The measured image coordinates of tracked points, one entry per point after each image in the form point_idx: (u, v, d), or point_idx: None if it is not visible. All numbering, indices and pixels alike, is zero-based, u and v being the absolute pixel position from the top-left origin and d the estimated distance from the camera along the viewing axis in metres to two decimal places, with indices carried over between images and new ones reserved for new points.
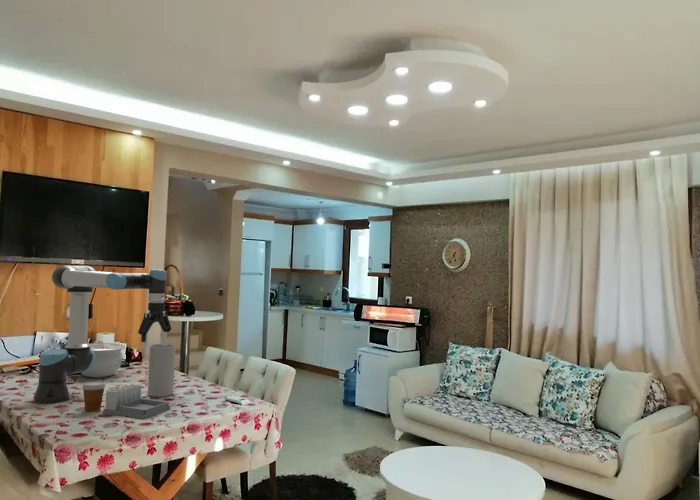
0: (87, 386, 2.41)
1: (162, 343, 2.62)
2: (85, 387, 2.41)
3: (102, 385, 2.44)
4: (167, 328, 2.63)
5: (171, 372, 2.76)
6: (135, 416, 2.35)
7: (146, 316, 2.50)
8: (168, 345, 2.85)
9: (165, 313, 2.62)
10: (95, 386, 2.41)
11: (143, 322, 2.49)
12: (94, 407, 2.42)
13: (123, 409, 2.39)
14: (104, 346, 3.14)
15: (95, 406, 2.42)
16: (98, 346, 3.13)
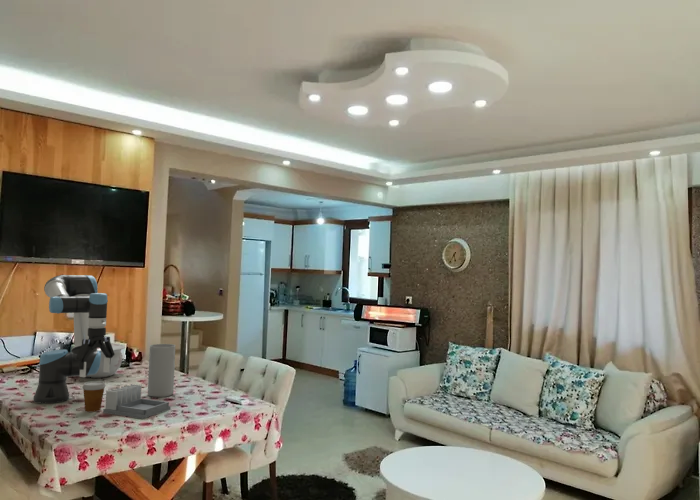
0: (87, 386, 2.41)
1: (104, 370, 2.51)
2: (85, 387, 2.41)
3: (102, 385, 2.44)
4: (109, 354, 2.52)
5: (171, 372, 2.76)
6: (135, 416, 2.35)
7: (84, 342, 2.39)
8: (168, 345, 2.85)
9: (107, 338, 2.51)
10: (95, 386, 2.41)
11: (81, 349, 2.38)
12: (94, 407, 2.42)
13: (123, 409, 2.39)
14: None
15: (95, 406, 2.42)
16: None
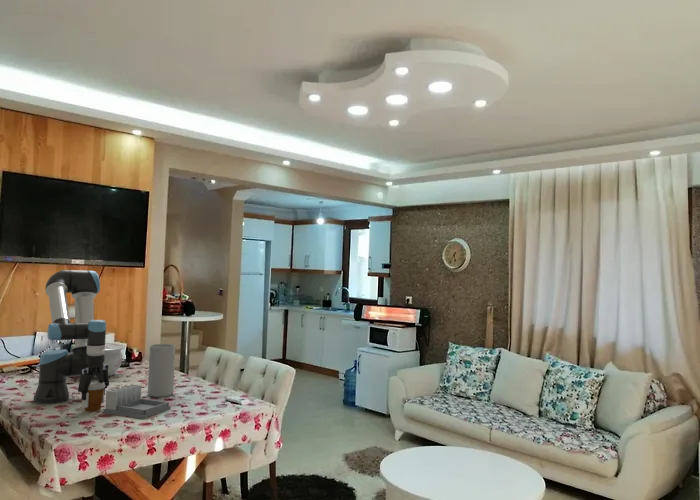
0: None
1: None
2: None
3: (102, 385, 2.44)
4: (105, 384, 2.49)
5: (171, 372, 2.76)
6: (135, 416, 2.35)
7: (83, 373, 2.39)
8: (168, 345, 2.85)
9: (105, 366, 2.50)
10: (95, 386, 2.41)
11: (81, 379, 2.39)
12: (94, 407, 2.42)
13: (123, 409, 2.39)
14: None
15: (95, 406, 2.42)
16: None
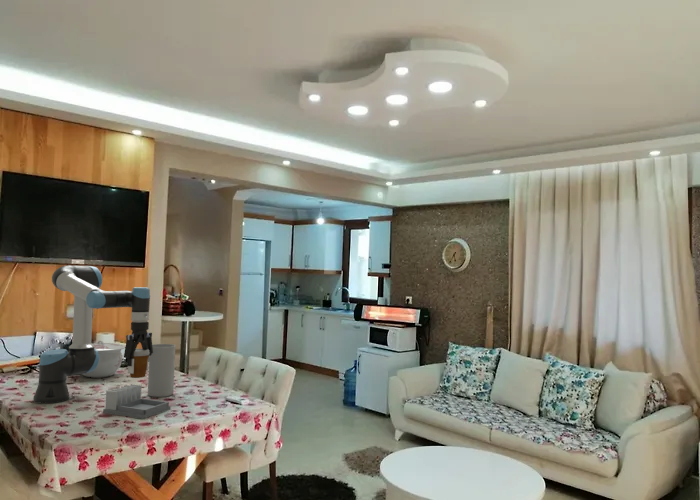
0: None
1: None
2: None
3: (147, 351, 2.44)
4: (149, 351, 2.50)
5: (171, 372, 2.76)
6: (135, 416, 2.35)
7: (129, 339, 2.39)
8: (168, 345, 2.85)
9: (149, 334, 2.51)
10: (140, 352, 2.42)
11: (127, 345, 2.39)
12: (139, 373, 2.42)
13: (123, 409, 2.39)
14: (104, 346, 3.14)
15: (140, 372, 2.42)
16: (98, 346, 3.13)
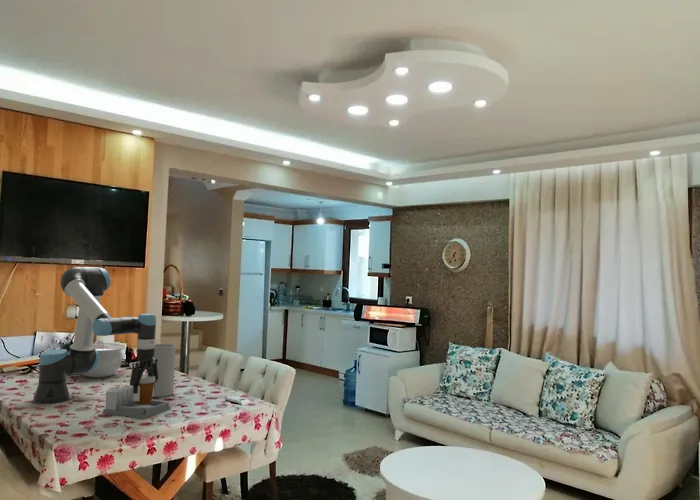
0: None
1: None
2: None
3: (153, 378, 2.44)
4: None
5: (171, 372, 2.76)
6: (135, 416, 2.35)
7: (135, 366, 2.39)
8: (168, 345, 2.85)
9: (155, 360, 2.50)
10: (146, 379, 2.42)
11: (133, 373, 2.39)
12: (145, 401, 2.42)
13: (123, 409, 2.39)
14: (104, 346, 3.14)
15: (146, 399, 2.42)
16: (98, 346, 3.13)
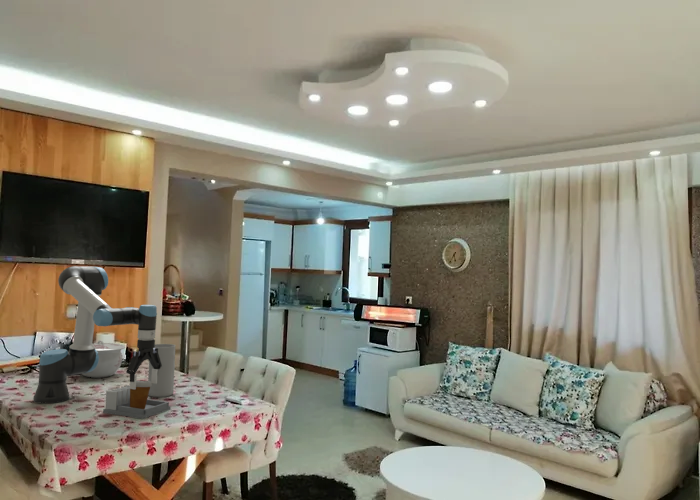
0: None
1: (152, 381, 2.51)
2: None
3: (149, 383, 2.43)
4: (157, 365, 2.52)
5: (171, 372, 2.76)
6: (135, 416, 2.35)
7: (135, 355, 2.39)
8: (168, 345, 2.85)
9: (155, 350, 2.51)
10: (143, 383, 2.40)
11: (132, 361, 2.38)
12: (140, 405, 2.40)
13: (123, 409, 2.39)
14: (104, 346, 3.14)
15: (141, 404, 2.40)
16: (98, 346, 3.13)
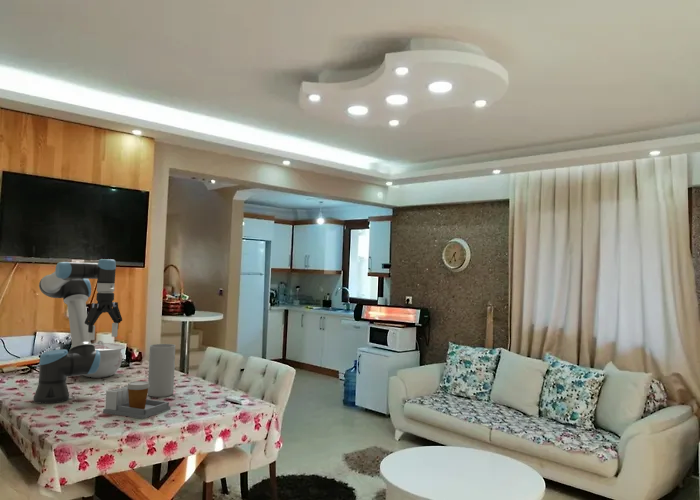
0: (132, 386, 2.38)
1: (112, 334, 2.57)
2: (130, 387, 2.38)
3: (147, 385, 2.41)
4: (117, 319, 2.57)
5: (171, 372, 2.76)
6: (135, 416, 2.35)
7: (93, 306, 2.45)
8: (168, 345, 2.85)
9: (115, 304, 2.56)
10: (140, 386, 2.38)
11: (90, 312, 2.44)
12: (139, 407, 2.39)
13: (123, 409, 2.39)
14: (104, 346, 3.14)
15: (140, 406, 2.39)
16: (98, 346, 3.13)
